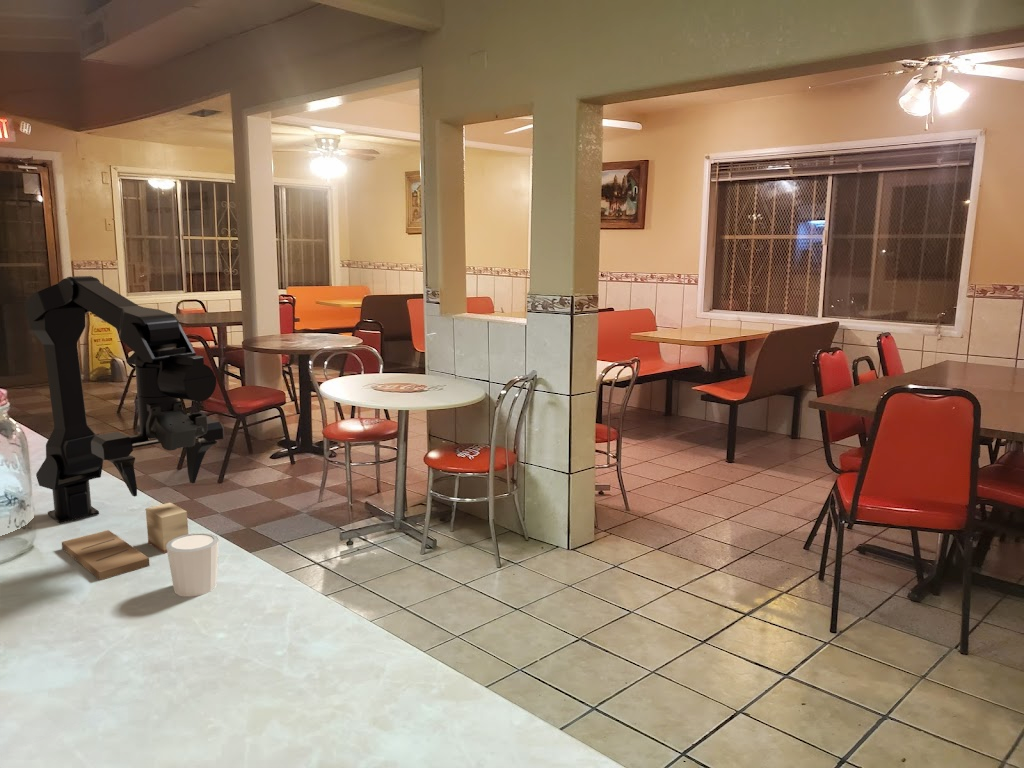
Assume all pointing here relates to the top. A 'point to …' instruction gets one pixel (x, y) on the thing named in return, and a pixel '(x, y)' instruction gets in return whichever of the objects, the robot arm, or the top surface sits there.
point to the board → (105, 554)
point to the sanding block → (165, 524)
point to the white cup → (193, 563)
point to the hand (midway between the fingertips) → (164, 489)
